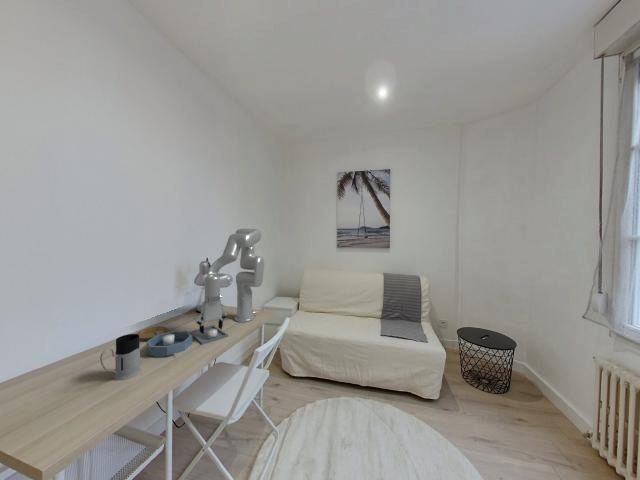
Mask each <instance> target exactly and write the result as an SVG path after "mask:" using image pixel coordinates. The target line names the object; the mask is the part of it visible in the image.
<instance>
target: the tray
mask: <svg viewBox="0 0 640 480" xmlns="http://www.w3.org/2000/svg"><path fill="white" fill-rule="evenodd" d="M209 329H217V337H216V338H213V339H210V340H208V339H207V330H209ZM188 332H189V333H190V334H191V335H192V338H194V339H195V340H196V341H197V342H198V343H199V344H201V345H206V344H208V343H212V342H215V341H219V340H222V339H225V338H229V334H228V333H227V332H225V331H224V330H222V329H220V328H218V326H216V325H215V324H212V325H209V326H206V327H205V326H204V333H203V334H202V333H201V332H200V328H198V329H197V328H196V329H194V330H189V331H188Z"/></svg>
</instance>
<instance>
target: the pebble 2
mask: <svg viewBox="0 0 640 480" xmlns="http://www.w3.org/2000/svg"><path fill="white" fill-rule="evenodd" d="M216 337H217V329H209V330H207V339H208V340H210V339H213V338H216Z"/></svg>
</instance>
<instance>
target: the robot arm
mask: <svg viewBox="0 0 640 480" xmlns="http://www.w3.org/2000/svg"><path fill="white" fill-rule="evenodd" d="M261 239H262V232H261V230H260V229H257V228H238V229H237V230H236V231H235V233H232V234H230V235H229V236H228V239H227V242H226V244H225V248H224V249H223V253H222V255H221V256H219V257H218V258H217V259H216V260H214V262H213V263H212V264H211V265H210V267H209V269H208V272H207V275H206V276H205V278H204V300H203V302H202V304H201V307H200V308H201V309H200V314H198V315H197V316H196V317H194V318H193V319H194V321H195V323H196V324H197V325H199V329H200V332H201V333H202V334H203V333H204V327H205V326H204V325H205V323H206V322H211V321H216V320H218V326H217V327H218V328H219V329H221V330H222V329H223V326H224V321H225V319H226V318H227V315H228V311H226V310H223V307H222V300H221V298H223V295H221V288H228V287H230V286H231V285H232V284H233V281H234V279H233V277H232V275H231V274H229V273H220V270H221V269H223V267H224V266H226V265H229V264H232V263H234V262H236V261H237V259H238V256H239V254H240V259H239V261H240V262H239V266H240V268H241V269H242V270H247V271H239V272H238V273H237V274H236V276H235V284H236V292H237V294H236V297H237V298H236V299H237V300H236V302H237V303H236V306H237V307H236V316H235V317H234V321H235V322H237V323H238V322H239V323H245V322H251V321H252V320H254V319H255V315H257V314H259V310H253V291H252V288H259V287H261V286H262V285H263V284H262V283H263V281H264V270H265V261H264V258H263V256H261V255H255V246H254V245H256V244H257V243H259V242H260V241H261ZM240 250H241V251H240ZM248 270H250V271H248ZM251 287H252V288H251ZM199 319H200V320H199Z"/></svg>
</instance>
